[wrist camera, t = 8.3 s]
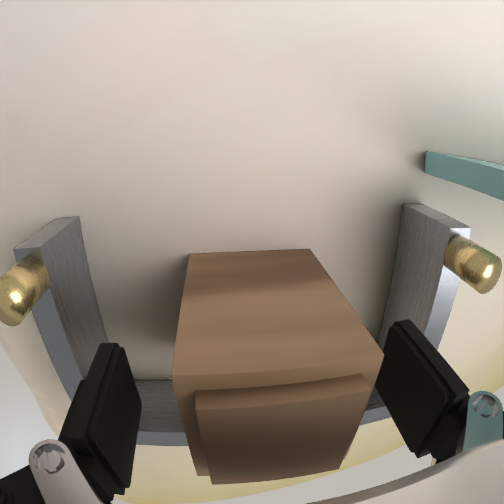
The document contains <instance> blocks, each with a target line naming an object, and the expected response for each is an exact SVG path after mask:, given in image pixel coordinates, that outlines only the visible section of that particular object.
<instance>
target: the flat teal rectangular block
mask: <svg viewBox="0 0 504 504" xmlns="http://www.w3.org/2000/svg"><path fill="white" fill-rule="evenodd" d="M425 173H427V174H430V175H433V176H436V177H439V178H442V179H445V180H449V181H451V182H454V183H457V184H460V185H463V186H466V187H469V188H472V189H474V190H477V191H480V192H482V193H485V194H488V195H490V196H493V197H495V198H498V199H500V200H503V201H504V165H502V164H497V163H492V162H487V161H482V160H477V159H472V158H466V157H460V156H454V155H448V154H442V153H435V152H428V151H426V160H425Z"/></svg>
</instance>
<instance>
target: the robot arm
mask: <svg viewBox="0 0 504 504" xmlns="http://www.w3.org/2000/svg"><path fill="white" fill-rule="evenodd" d="M383 354H384V358H383V361H382V364H381V367H380V370H379V373H378V376H377V379H376V382H375V388H376V389H377V391H378V393H379V395H380V397H381V398H382V400H383V402H384V404H385V406H386V407H387V409H388V411H389V413H390V415H391V417H392V418H393V420H394V422H395V424H396V426H397V428H398V430H399V431H400V433H401V435H402V437H403V439H404V441H405V443H406V444H407V446H408V448H409V450H410V451H411V452H414V453H415V455H416V457H417V458H420V457H422V456H425V455H427V454H429V453H431V455H432V457H433V458H432V462H431V466H430V467H428V468H426V469H423V470H421V471H418V472H416V473H413V474H411V475H408V476H405V477H402V478H400V479H397V480H394V481H391V482H388V483H386V484H382V485H379V486H376V487H373V488H369V489H366V490H362V491H359V492H355V493H352V494H348V495H344V496H340V497H335V498H332V499H327V500H322V501H318V502H312V503H307V504H504V411H503V408H502V404H501V402H500V400H499V399H498V398H497V397H496V396H495V395H493V394H492V393H489V392H486V391H478V392H475V393H474V394H472V395H471V397H470V396H469V394H468V392H469V389H468V387H467V386H466V385H465V384H464V382H463V381H462V380H461V379H460V378H459V376H458V375H457V374H456V373H455V371H454V370H453V369H452V368H451V367H450V365H449V364H448V363H447V362H446V360H445V359H444V358H443V357H442V356H441V355H440V353H439V352H438V351H437V350H436V349H435V347H434V346H433V345H432V344H431V343H430V342H429V340H428V339H427V338H426V337H425V336H424V335H423V334H422V332H421V331H420V330H419V329H418V328H417V327H416V326H415V324H414V323H413V322H412V321H411V320H409V319H407V320H401V321H396V322H394V323H393V325H392V326H391V327H390V328H389V331H388V334H387V338H386V342H385V345H384V349H383ZM141 411H142V402H141V399H140V396H139V393H138V390H137V387H136V384H135V381H134V378H133V375H132V372H131V369H130V366H129V363H128V360H127V356H126V353H125V350H124V348H123V347H119V345H118V343H100V345H99V347H98V350H97V352H96V354H95V357H94V359H93V362H92V364H91V366H90V369H89V371H88V374H87V376H86V379H82V380H81V381H80V383H79V385H78V387H77V390H76V392H75V395H74V397H73V400H72V403H71V405H70V408H69V411H68V413H67V416H66V419H65V422H64V424H63V427H62V430H61V433H60V436H59V439H58V441H57V440H49V439H48V440H45V441H41V442H39V443H38V444H36V445H35V446H34V447H33V448H32V450H31V452H30V454H29V465H28V466H26V467H24V468H22V469H20V470H18V471H16V472H14V473H12V474H10V475H8V476H6V477H4V478H2V479H0V504H112V502H111V501H112V500H113V498H114V494H119V495H124V493H125V488H129V487H130V483H131V476H132V468H133V461H134V454H135V447H136V441H137V435H138V429H139V423H140V417H141Z"/></svg>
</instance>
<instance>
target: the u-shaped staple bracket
mask: <svg viewBox="0 0 504 504" xmlns="http://www.w3.org/2000/svg"><path fill="white" fill-rule="evenodd" d="M470 233H471V227H469V226H467V225H465V224H463V223H461V222H459V221H457V220H455V219H453V218H451V217H449V216H447V215H445V214H443V213H441V212H439V211H437V210H435V209H432V208H430V207H428V206H426V205H424V204H403V209H402V217H401V225H400V232H399V239H398V246H397V252H396V258H395V264H394V269H393V275H392V280H391V285H390V290H389V295H388V300H387V305H386V309H385V313H384V318H383V322H382V326H381V330H380V334H379V338H378V342H377V345H378V346H379V348H380V349H381V351H382V352H383V349H384V345H385V342H386V338H387V334H388V331H389V328H390V327H391V326H392V325H393V323H394V322H396V321H401V320H407V319H409V320H411V321H412V322H413V323H414V324H415V326H416V327H417V328H418V329H419V330H420V331H421V332H422V334H423V335H424V336H425V337H426V338H427V339H428V340H429V342H430V343H431V344H432V345H433V346H434V347H435V349H436V350H437V349H438V346H439V344H440V341H441V338H442V335H443V333H444V330H445V327H446V324H447V321H448V318H449V315H450V312H451V308H452V305H453V302H454V298H455V295H456V292H457V288H458V284H459V281H460V278H461V279H462V280H464V281H465V282H466V283H467V284H469V285H470V286H471V287H473V288H474V289H475V290H476V291H478V292H479V293H481V294H485V293H487V292H489V291H490V290H491V289H492V288H493V287H494V286H495V285H496V283H497V281H498V279H499V277H500V274H501V270H502V262H501V259H500V258H499V257H498V256H496V255H494V254H493V253H491V252H489V251H488V250H486V249H484V248H483V247H481V246H479V245H478V244H476V243H474V242H472V241H471V240H469V238H470ZM13 250H14V254H15V258H16V261H17V264H16V265H14V266H13V267H12V268H11V269H10V270H9V271H8V272H7V273H5V274H4V275H3V276H2V277H1V278H0V321H1V322H3V323H4V324H6V325H9V326H17V325H19V324H20V323H21V322H22V320H23V319H24V318H25V317H26V315H27V314H28V313H29V312H30V310H32V313H33V316H34V319H35V321H36V324H37V327H38V329H39V332H40V334H41V337H42V339H43V342H44V344H45V347H46V349H47V351H48V354H49V356H50V358H51V360H52V363H53V365H54V367H55V369H56V371H57V373H58V376H59V378H60V380H61V382H62V384H63V386H64V388H65V390H66V392H67V394H68V396H69V397H70V399H71V401H72V400H73V397H74V395H75V392H76V390H77V387H78V385H79V383H80V381H81V380H82V379H86V376H87V374H88V371H89V369H90V366H91V364H92V362H93V359H94V357H95V354H96V352H97V350H98V347H99V345H100V343H108V340H107V336H106V333H105V330H104V326H103V323H102V320H101V316H100V312H99V309H98V305H97V301H96V297H95V293H94V289H93V285H92V281H91V277H90V272H89V268H88V263H87V258H86V253H85V248H84V243H83V238H82V232H81V226H80V220H79V216H77V217H67V218H58V219H54V220H53V221H52V222H50V223H49V224H47V225H46V226H44V227H43V228H41V229H40V230H39V231H37V232H36V233H34V234H33V235H32V236H30V237H29V238H28V239H26V240H25V241H23V242H22V243H21V244H19V245H18V246H17V247H15V248H14V249H13ZM134 381H135V384H136V387H137V390H138V393H139V396H140V399H141V402H142V411H141V417H140V423H139V429H138V435H137V441H136V444H138V445H158V446H189V445H188V442H187V438H186V434H185V431H184V427H183V423H182V419H181V415H180V411H179V407H178V403H177V399H176V395H175V390H174V386H173V382H172V380H134ZM390 417H391V415H390V413H389V411H388V409H387V407H386V406H385V404H384V402H383V400H382V398H381V397H380V395H379V393H378V391H377V389H376V388H375V385H374V388H373V391H372V393H371V396H370V399H369V402H368V404H367V407H366V410H365V412H364V415H363V417H362V420H361V422H360V425H363V424H367V423H371V422H375V421H379V420H383V419H386V418H390Z"/></svg>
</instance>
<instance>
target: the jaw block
mask: <svg viewBox="0 0 504 504" xmlns="http://www.w3.org/2000/svg"><path fill="white" fill-rule="evenodd" d="M383 358H384V354H383V352H382V351H381V349H380V348H379V346H378V345H377V343H376V342H375V340H374V339H373V337H372V336H371V334H370V333H369V331H368V330H367V328H366V327H365V326H364V324H363V323H362V321H361V320H360V318H359V317H358V315H357V314H356V313H355V311H354V310H353V308H352V307H351V305H350V304H349V303H348V301H347V300H346V298H345V297H344V296H343V294H342V293H341V291H340V290H339V289H338V287H337V286H336V284H335V283H334V282H333V280H332V279H331V277H330V276H329V275H328V273H327V272H326V271H325V269H324V268H323V266H322V265H321V264H320V262H319V261H318V260H317V258H316V257H315V256H314V254H313V253H312V251H311V250H310V249H294V250H269V251H243V252H218V253H193V254H190V255H189V261H188V266H187V272H186V278H185V284H184V290H183V296H182V302H181V308H180V315H179V321H178V328H177V335H176V342H175V349H174V356H173V364H172V372H171V377H172V382H173V386H174V390H175V395H176V399H177V403H178V407H179V411H180V415H181V419H182V423H183V427H184V431H185V434H186V438H187V442H188V445H189V449H190V452H191V456H192V459H193V463H194V466H195V469H196V472H197V476H210V478H211V482H212V484H235V483H249V482H260V481H269V480H278V479H285V478H292V477H299V476H305V475H311V474H316V473H321V472H326V471H331V470H336V469H339V467H340V465H341V463H342V461H343V459H345V457H346V455H347V453H348V451H349V448H350V446H351V444H352V441H353V439H354V437H355V434H356V432H357V430H358V427H359V425H360V422H361V420H362V417H363V415H364V412H365V410H366V407H367V404H368V402H369V399H370V396H371V393H372V391H373V388H374V385H375V382H376V379H377V376H378V373H379V370H380V367H381V364H382V361H383Z"/></svg>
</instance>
